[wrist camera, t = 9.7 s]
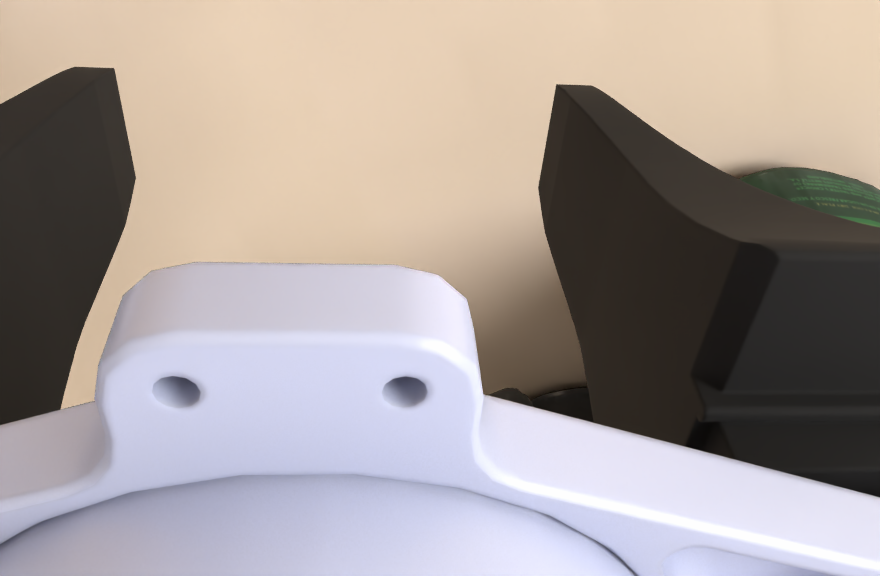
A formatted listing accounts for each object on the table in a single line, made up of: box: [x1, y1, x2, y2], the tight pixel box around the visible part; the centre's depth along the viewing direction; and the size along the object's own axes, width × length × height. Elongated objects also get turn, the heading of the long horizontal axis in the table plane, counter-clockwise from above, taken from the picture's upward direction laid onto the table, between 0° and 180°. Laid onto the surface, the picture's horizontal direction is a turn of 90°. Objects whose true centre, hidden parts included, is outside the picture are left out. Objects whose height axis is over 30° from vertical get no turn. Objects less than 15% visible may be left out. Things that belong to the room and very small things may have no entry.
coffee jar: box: [739, 167, 880, 227], centre depth 23 cm, size 10×8×19 cm
